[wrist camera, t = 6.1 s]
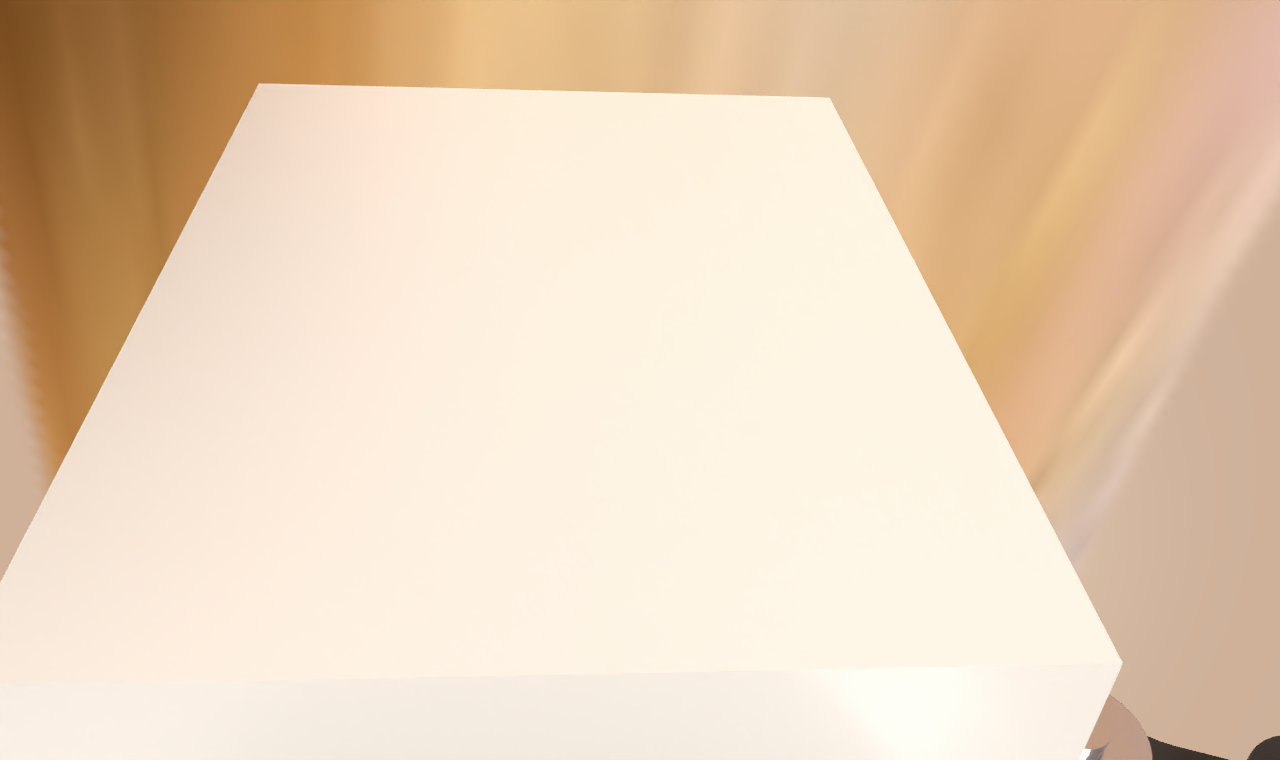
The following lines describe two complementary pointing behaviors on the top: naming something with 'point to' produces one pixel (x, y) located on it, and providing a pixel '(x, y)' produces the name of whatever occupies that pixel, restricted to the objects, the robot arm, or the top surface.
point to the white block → (543, 462)
